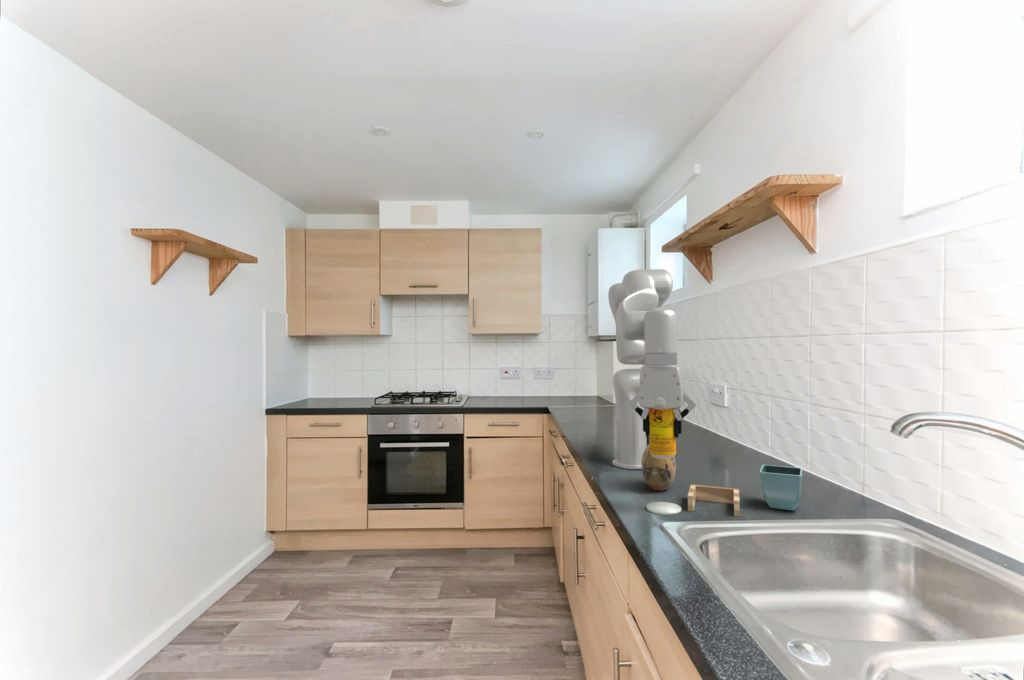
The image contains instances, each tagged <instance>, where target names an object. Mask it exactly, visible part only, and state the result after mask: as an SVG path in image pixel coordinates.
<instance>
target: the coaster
mask: <svg viewBox="0 0 1024 680" xmlns="http://www.w3.org/2000/svg"><path fill="white" fill-rule="evenodd" d="M646 510H647V511H648V512H650V513H652V514H655V515H661V516H673V515H674V516H675V515H679V514H681V513H682V507H681V505H679V504H677V503H672V502H666V501H653V502H649V503H647V504H646Z"/></svg>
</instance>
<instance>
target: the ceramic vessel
mask: <svg viewBox="0 0 1024 680" xmlns="http://www.w3.org/2000/svg"><path fill="white" fill-rule="evenodd" d="M641 467H642V469H641V473H642V476H643V479H644V481H645V483H646V484H647V485H648V487H649V488H650V489H652V490H653V491H657V492H663V491H666V490H667V489H668V488H669V487H670V486H671V485H672V484H673V482H674V479H675V477H676V471H677V461H676V455H675V456H674V458H670V459H659V458H654V457H652V455H651V454H650V448H649V444H647V447H646V448H645V450H644V452H643V456H642V462H641Z"/></svg>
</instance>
